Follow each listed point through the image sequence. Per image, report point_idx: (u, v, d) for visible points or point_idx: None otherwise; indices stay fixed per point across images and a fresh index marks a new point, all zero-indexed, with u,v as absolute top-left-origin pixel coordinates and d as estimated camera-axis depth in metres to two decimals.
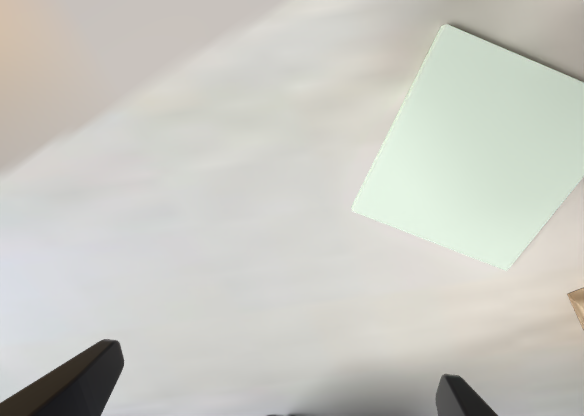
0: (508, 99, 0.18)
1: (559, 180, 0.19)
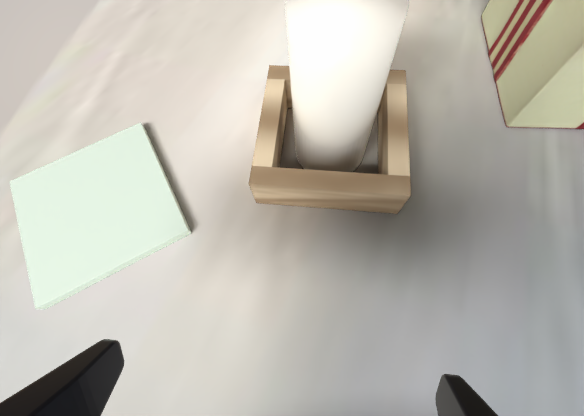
0: (74, 173, 0.26)
1: (146, 169, 0.26)
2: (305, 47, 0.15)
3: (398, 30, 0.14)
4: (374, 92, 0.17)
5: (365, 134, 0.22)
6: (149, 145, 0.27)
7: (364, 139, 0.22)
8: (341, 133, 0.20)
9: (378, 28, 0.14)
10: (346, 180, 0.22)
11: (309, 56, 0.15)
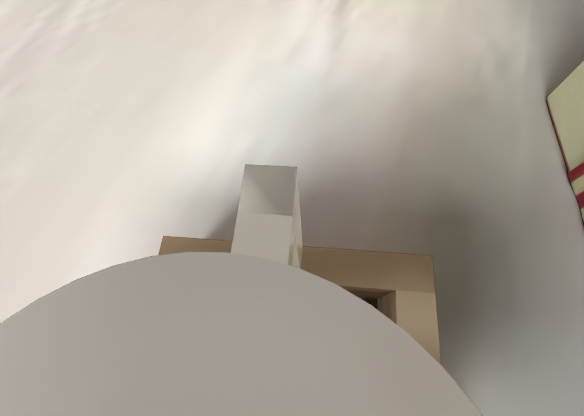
0: None
1: None
2: None
3: None
4: None
5: None
6: None
7: None
8: None
9: None
10: None
11: None
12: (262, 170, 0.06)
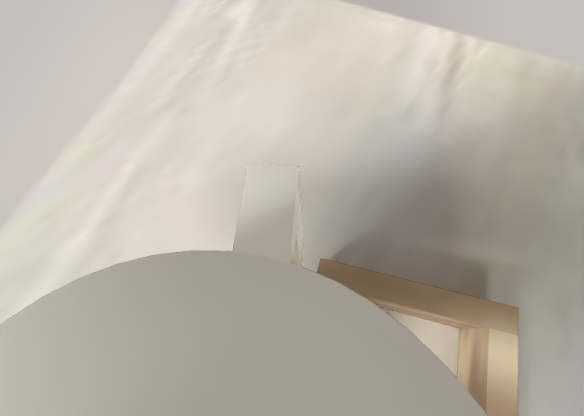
0: None
1: None
2: None
3: None
4: None
5: None
6: None
7: None
8: None
9: None
10: None
11: None
12: (264, 169, 0.06)
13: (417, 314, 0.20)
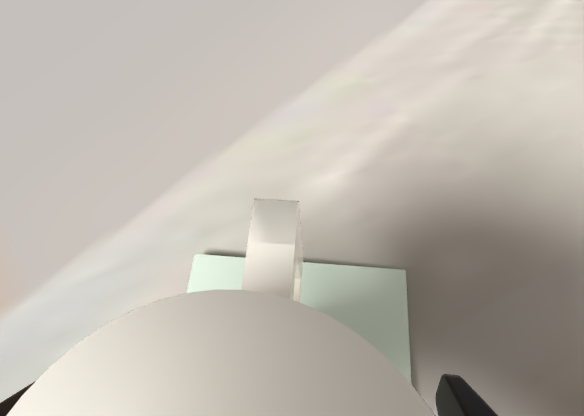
0: None
1: None
2: None
3: None
4: None
5: None
6: (406, 325, 0.16)
7: None
8: None
9: None
10: None
11: None
12: (269, 204, 0.07)
13: None
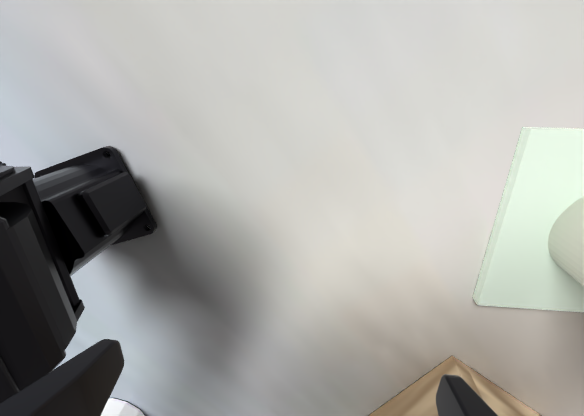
0: None
1: None
2: None
3: None
4: None
5: None
6: None
7: None
8: None
9: None
10: None
11: None
12: None
13: None
